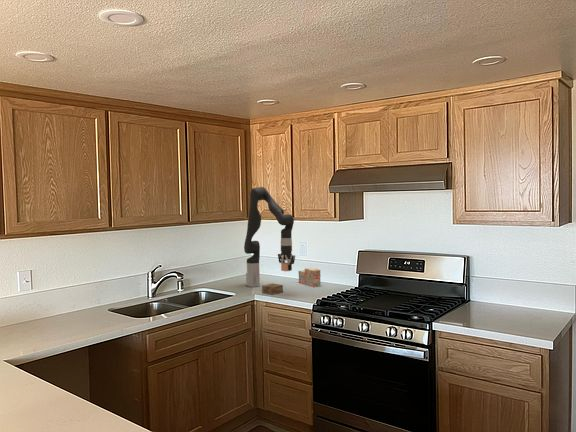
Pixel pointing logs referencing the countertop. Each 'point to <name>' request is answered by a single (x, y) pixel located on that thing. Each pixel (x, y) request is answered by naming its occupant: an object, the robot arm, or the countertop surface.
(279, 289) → the walnut block
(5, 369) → the countertop surface
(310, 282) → the stack of blocks
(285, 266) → the terracotta cube
